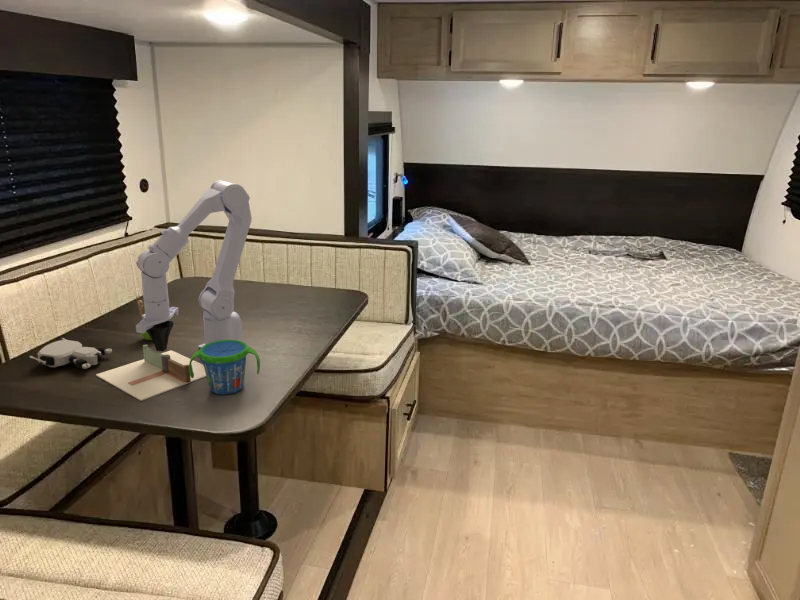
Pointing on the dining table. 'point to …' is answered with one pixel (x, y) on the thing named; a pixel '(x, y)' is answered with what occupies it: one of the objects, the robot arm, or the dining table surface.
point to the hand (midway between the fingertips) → (161, 350)
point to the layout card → (149, 377)
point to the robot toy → (70, 354)
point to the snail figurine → (142, 312)
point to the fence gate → (152, 356)
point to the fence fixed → (175, 368)
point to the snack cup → (224, 365)
